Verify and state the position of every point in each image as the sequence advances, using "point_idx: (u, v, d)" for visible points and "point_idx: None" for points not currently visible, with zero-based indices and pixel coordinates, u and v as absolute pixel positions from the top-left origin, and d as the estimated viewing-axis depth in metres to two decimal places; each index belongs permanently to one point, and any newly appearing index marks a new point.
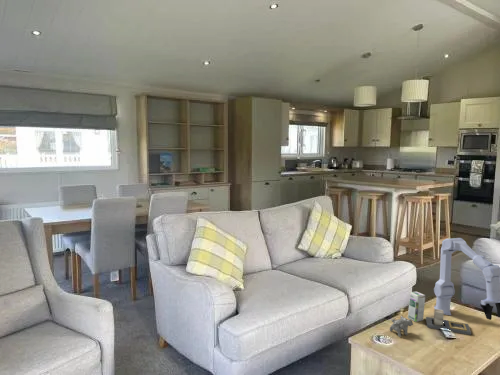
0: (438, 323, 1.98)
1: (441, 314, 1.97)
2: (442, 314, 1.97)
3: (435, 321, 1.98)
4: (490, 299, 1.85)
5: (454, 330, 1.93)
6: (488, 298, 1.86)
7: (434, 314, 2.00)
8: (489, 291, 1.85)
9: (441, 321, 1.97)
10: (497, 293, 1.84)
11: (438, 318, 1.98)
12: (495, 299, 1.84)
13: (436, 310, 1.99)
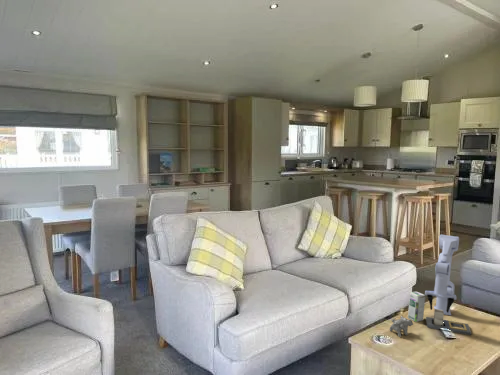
0: (438, 323, 1.98)
1: (441, 314, 1.97)
2: (442, 314, 1.97)
3: (435, 321, 1.98)
4: (434, 292, 1.98)
5: (454, 330, 1.93)
6: (434, 291, 1.99)
7: (434, 314, 2.00)
8: (435, 285, 1.98)
9: (441, 321, 1.97)
10: (440, 288, 1.95)
11: (438, 318, 1.98)
12: (437, 293, 1.96)
13: (436, 310, 1.99)
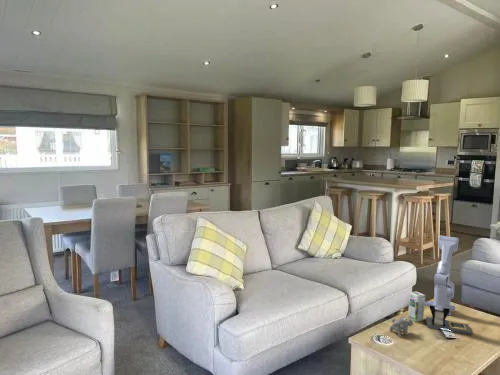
0: (438, 323, 1.98)
1: (441, 313, 1.97)
2: (442, 314, 1.97)
3: (435, 321, 1.98)
4: (433, 303, 1.99)
5: (454, 330, 1.93)
6: None
7: None
8: (434, 295, 1.99)
9: (441, 321, 1.97)
10: (439, 299, 1.96)
11: (438, 318, 1.98)
12: (436, 304, 1.97)
13: (436, 310, 1.99)
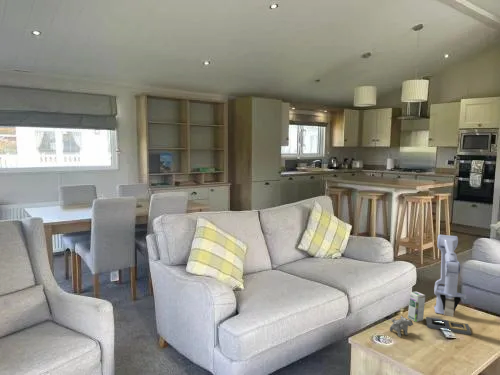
0: (449, 312, 1.95)
1: (452, 302, 1.94)
2: (453, 303, 1.94)
3: (446, 310, 1.96)
4: (444, 291, 1.97)
5: (454, 330, 1.93)
6: (444, 290, 1.98)
7: None
8: (445, 284, 1.97)
9: (452, 310, 1.95)
10: (450, 287, 1.94)
11: (448, 307, 1.95)
12: (447, 292, 1.95)
13: (447, 299, 1.97)
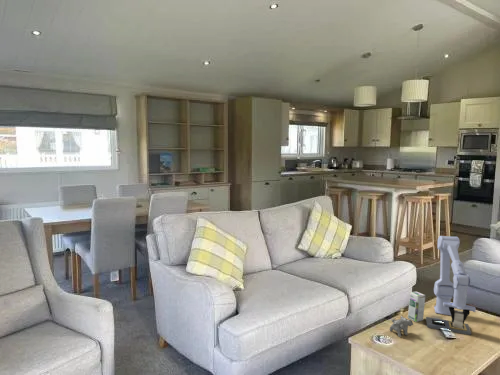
0: (458, 325, 1.94)
1: (461, 315, 1.93)
2: (462, 315, 1.93)
3: (455, 323, 1.95)
4: (453, 304, 1.96)
5: (454, 330, 1.93)
6: (453, 302, 1.97)
7: None
8: (453, 296, 1.96)
9: (461, 323, 1.94)
10: (459, 300, 1.93)
11: (458, 320, 1.94)
12: (456, 305, 1.94)
13: (455, 311, 1.96)
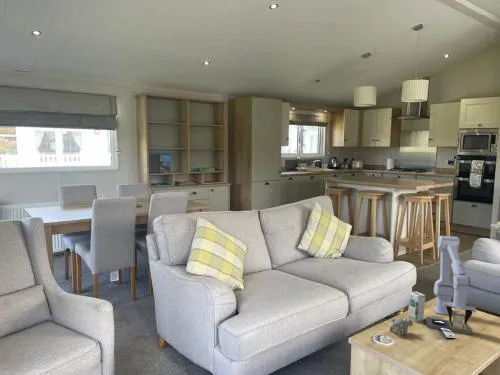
0: (457, 326, 1.94)
1: (461, 317, 1.93)
2: (462, 317, 1.93)
3: (454, 324, 1.95)
4: (453, 304, 1.96)
5: (454, 330, 1.93)
6: (453, 303, 1.97)
7: (453, 317, 1.97)
8: None
9: (461, 325, 1.94)
10: (459, 300, 1.93)
11: (457, 322, 1.94)
12: (456, 305, 1.94)
13: (455, 313, 1.96)
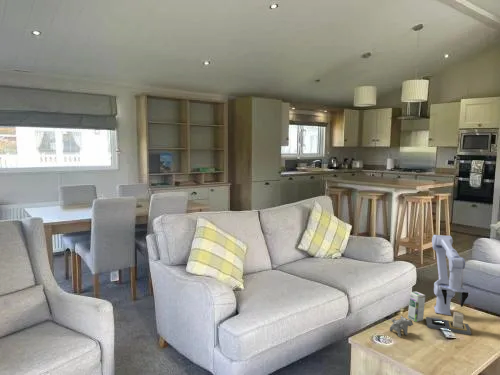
0: (457, 326, 1.94)
1: (461, 317, 1.93)
2: (462, 317, 1.93)
3: (454, 324, 1.95)
4: (448, 287, 2.01)
5: (454, 330, 1.93)
6: (448, 285, 2.02)
7: (453, 317, 1.97)
8: (449, 279, 2.01)
9: (461, 325, 1.94)
10: (454, 283, 1.98)
11: (457, 322, 1.94)
12: (451, 287, 1.99)
13: (455, 313, 1.96)
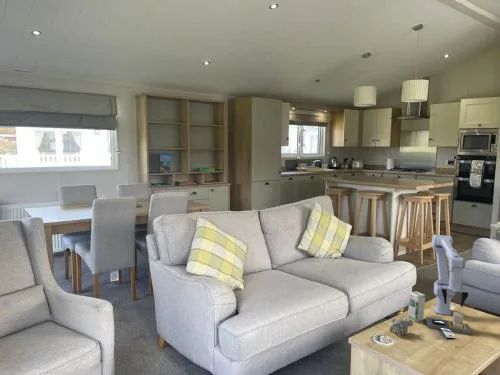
0: (457, 326, 1.94)
1: (461, 317, 1.93)
2: (462, 317, 1.93)
3: (454, 324, 1.95)
4: (448, 286, 2.01)
5: (454, 330, 1.93)
6: (448, 285, 2.02)
7: (453, 317, 1.97)
8: (449, 279, 2.01)
9: (461, 325, 1.94)
10: (454, 283, 1.98)
11: (457, 322, 1.94)
12: (451, 287, 1.99)
13: (455, 313, 1.96)
